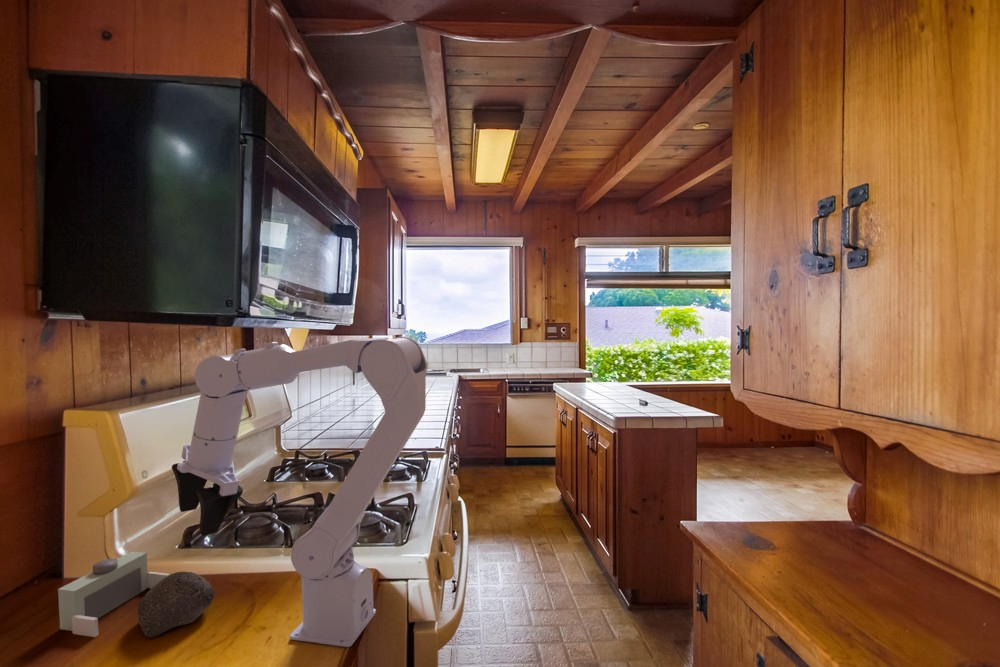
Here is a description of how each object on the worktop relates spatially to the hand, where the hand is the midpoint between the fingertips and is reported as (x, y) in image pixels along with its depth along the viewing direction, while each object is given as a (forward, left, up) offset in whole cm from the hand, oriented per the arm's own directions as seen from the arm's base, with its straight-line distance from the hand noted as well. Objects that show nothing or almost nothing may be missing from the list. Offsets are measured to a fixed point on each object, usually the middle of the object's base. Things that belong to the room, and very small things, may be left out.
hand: (198, 521), depth 70 cm
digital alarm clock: (+16, 0, -15) cm, 22 cm away
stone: (+4, 0, -15) cm, 16 cm away
